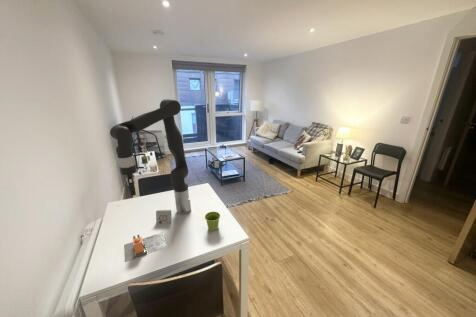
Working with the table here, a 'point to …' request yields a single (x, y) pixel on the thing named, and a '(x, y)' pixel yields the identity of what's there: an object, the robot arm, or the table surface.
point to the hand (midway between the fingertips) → (133, 191)
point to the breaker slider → (136, 237)
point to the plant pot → (212, 220)
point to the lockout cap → (138, 245)
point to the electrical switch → (163, 216)
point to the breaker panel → (145, 246)
